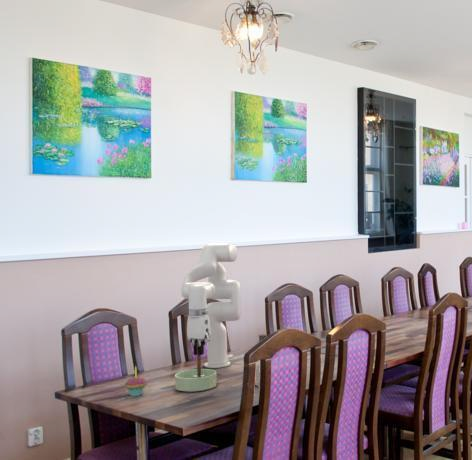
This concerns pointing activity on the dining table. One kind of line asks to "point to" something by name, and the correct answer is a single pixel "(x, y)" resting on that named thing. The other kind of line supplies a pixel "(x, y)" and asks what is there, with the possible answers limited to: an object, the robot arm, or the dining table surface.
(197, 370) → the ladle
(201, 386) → the bowl
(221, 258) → the robot arm
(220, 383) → the dining table surface
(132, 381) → the cupcake
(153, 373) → the dining table surface
